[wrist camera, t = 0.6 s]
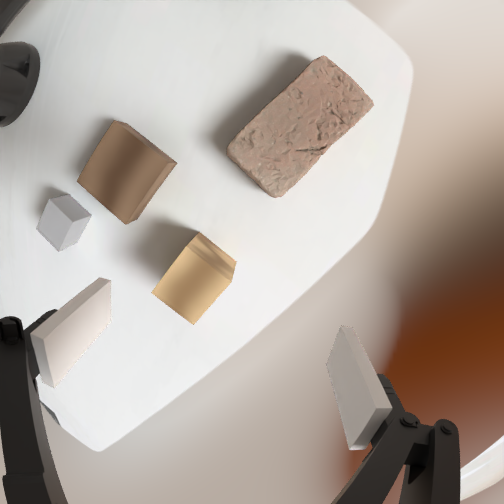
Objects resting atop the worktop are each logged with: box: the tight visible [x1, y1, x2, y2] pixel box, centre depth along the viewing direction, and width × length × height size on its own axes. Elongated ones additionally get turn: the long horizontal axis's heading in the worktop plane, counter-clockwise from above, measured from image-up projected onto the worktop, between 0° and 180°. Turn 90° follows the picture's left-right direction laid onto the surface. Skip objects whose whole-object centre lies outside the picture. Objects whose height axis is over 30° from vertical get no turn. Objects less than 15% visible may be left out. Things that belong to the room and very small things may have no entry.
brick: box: [227, 56, 374, 198], centre depth 31 cm, size 17×8×5 cm, turn 137°
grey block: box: [36, 194, 92, 252], centre depth 35 cm, size 5×5×5 cm
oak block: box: [151, 232, 236, 325], centre depth 35 cm, size 6×7×7 cm
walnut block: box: [77, 120, 177, 225], centre depth 33 cm, size 9×9×4 cm
